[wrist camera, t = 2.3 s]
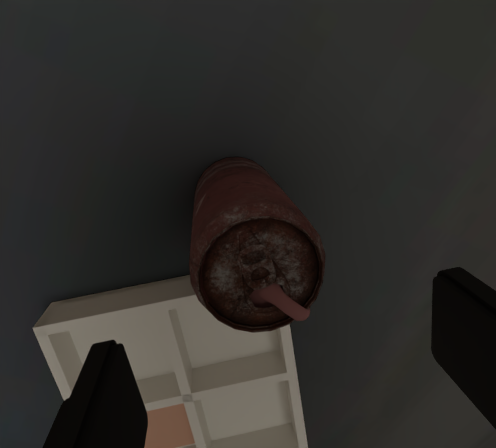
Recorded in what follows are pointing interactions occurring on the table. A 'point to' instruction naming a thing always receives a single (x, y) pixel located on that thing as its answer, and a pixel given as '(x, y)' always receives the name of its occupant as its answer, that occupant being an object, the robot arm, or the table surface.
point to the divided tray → (183, 366)
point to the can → (252, 249)
